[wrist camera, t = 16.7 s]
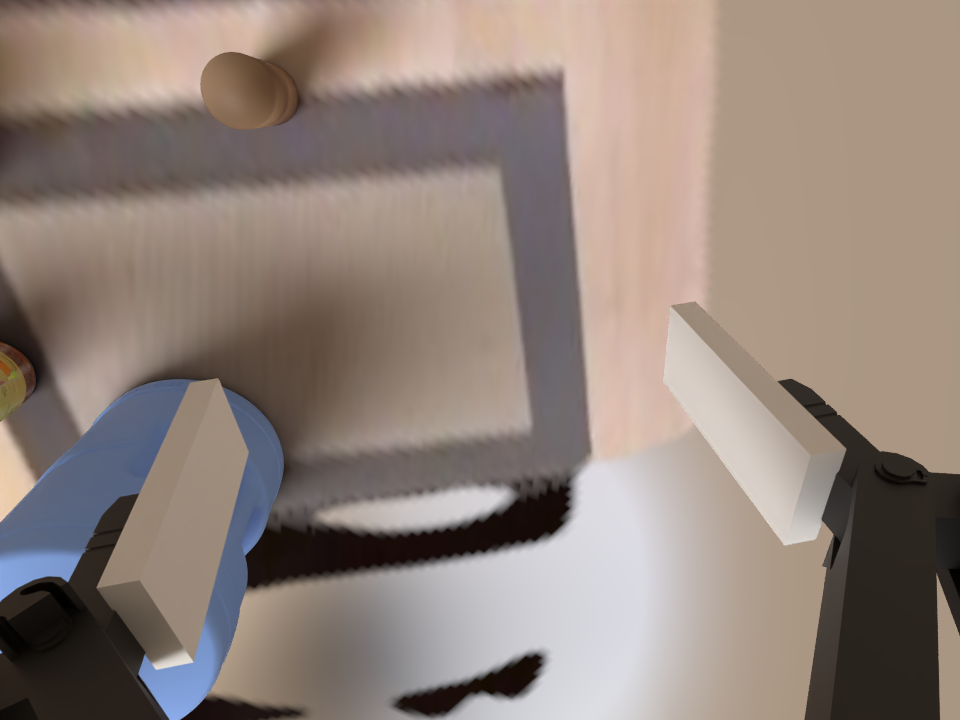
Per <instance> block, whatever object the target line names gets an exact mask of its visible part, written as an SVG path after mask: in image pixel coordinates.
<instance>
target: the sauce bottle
mask: <svg viewBox="0 0 960 720" xmlns="http://www.w3.org/2000/svg"><path fill="white" fill-rule="evenodd" d="M35 384H36V376H35V372H34V368H33V366H32V364H31V363H30V362H29V360H28V359H27V358H26V357H25V356H24V355H23V354H22V353H21V352H19V351H18V350H16V349H15V348H14V347H11V346H10V345H8V344H5V343H3V342H1V341H0V421H2V420H3V419H4V418H6V417H7V416H9V415H10V414H11V413H13V412H14V411H15V410H16V409H17V408H19V406H20V405H21V404H22V403H24V402H25V401H26V400H27V399H28V398H29V397H30V396H31V394H32V392H33V390H34V387H35Z"/></svg>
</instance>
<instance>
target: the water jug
mask: <svg viewBox="0 0 960 720" xmlns="http://www.w3.org/2000/svg"><path fill="white" fill-rule="evenodd" d="M197 381H198V380H189V379H169V380H161V381H156V382H151V383H148V384H145V385H142V386H139V387H137V388H134V389H132V390H130V391H128V392H127V393H125V394H123V395H122V396H120V397H119V398H118V399H116V400H115V401H114V402H113V403H112V404H110V405H109V406H108V407H107V409H106V410H105V411H104V412H103V413H102V414H101V415H100V416H99V417H98V418H97V419H96V421H95V422H94V423H93V425H92V427H91V428H90V429H89V430H88V431H87V432H86V433H85V434H84V435H83V437H82V438H81V439H80V440H79V441H78V442H77V443H76V444H75V445H74V446H73V447H71V448H70V449H69V450H68V451H66V452H65V453H64V454H63V455H62V456H60V457H59V458H58V459H57V460H56V461H55V462H54V463H53V464H52V466H51V467H50V468H49V469H48V470H47V471H46V472H45V473H44V474H43V475H42V477H41V478H40V479H39V480H38V482H37V483H36V485H35V486H34V488H33V489H32V490H31V491H30V492H29V493H28V494H27V495H26V496H25V497H24V498H23V499H22V500H21V501H20V502H19V503H18V505H17V506H16V507H15V508H14V509H13V510H12V511H11V512H10V513H9V514H8V515H7V516H6V517H5V518H4V519H3V520H2V521H1V522H0V602H1V600H2V599H4V598H5V597H6V596H8V595H9V594H10V593H11V592H13V591H14V590H15V589H17V588H18V587H20V586H22V585H24V584H26V583H28V582H30V581H32V580H35V579H39V578H43V577H47V576H54V577H61V578H63V579H64V580H66V581H67V582H68V581H69V579H70V577H71V575H72V573H73V571H74V569H75V567H76V566H77V564H78V562H79V560H80V558H81V556H82V554H83V553H85V548H86V546H87V544H88V542H89V540H90V538H91V537H93V532H94V530H95V528H96V526H97V524H98V522H99V520H100V518H101V516H102V515H103V514H104V513H105V512H106V510H107V509H108V508H109V507H110V506H111V505H112V504H113V503H114V502H115V501H116V500H117V499H118V498H119V497H122V496H127V495H133V494H139V493H140V491H141V489H142V487H143V485H144V483H145V480H146V478H147V476H148V474H149V472H150V469H151V467H152V465H153V463H154V461H155V458H156V456H157V454H158V452H159V450H160V447H161V445H162V443H163V441H164V439H165V437H166V434H167V432H168V430H169V428H170V426H171V423H172V421H173V419H174V417H175V415H176V412H177V410H178V408H179V406H180V404H181V401H182V399H183V397H184V395H185V393H186V390H187V388H188V386H189V384H190V383H191V382H197ZM222 388H223V391H224V393H225V396H226V398H227V400H228V403H229V405H230V408H231V410H232V412H233V415H234V417H235V420H236V422H237V425H238V427H239V429H240V432H241V434H242V437H243V439H244V442H245V444H246V446H247V449H248V451H249V453H248V457H247V461H246V465H245V469H244V472H243V476H242V480H241V484H240V488H239V491H238V495H237V499H236V503H235V507H234V511H233V514H232V518H231V522H230V526H229V530H228V533H227V537H226V541H225V545H224V549H223V552H222V556H221V560H220V564H219V568H218V572H217V575H216V579H215V583H214V587H213V591H212V594H211V598H210V602H209V606H208V610H207V613H206V617H205V621H204V625H203V629H202V633H201V636H200V640H199V644H198V648H197V652H196V655H195V659H194V662H193V663H188V664H183V665H178V666H173V667H168V668H163V669H158V670H156V669H155V668H154V666H153V665H152V664H151V662H150V661H149V660H148V658H147V657H146V655H145V656H144V659H143V662H142V665H141V668H140V671H139V676H140V677H141V678H142V680H143V681H144V682H145V684H146V685H147V687H148V688H149V690H150V691H151V693H152V694H153V696H154V697H155V699H156V700H157V702H158V703H159V705H160V706H161V708H162V709H163V711H164V712H165V713H166V715H167V716H168V718H169V719H170V720H180V719H181V718H183V717H184V716H186V715H187V714H188V713H190V712H191V711H192V710H193V709H194V708H195V707H196V706H197V705H198V704H199V703H200V702H201V701H202V700H203V699H204V698H205V697H206V695H207V694H208V693H209V691H210V690H211V688H212V687H213V685H214V683H215V681H216V679H217V677H218V675H219V673H220V670H221V667H222V664H223V662H224V661H225V658H226V656H227V653H228V651H229V649H230V646H231V643H232V640H233V637H234V633H235V630H236V627H237V623H238V618H239V612H240V606H241V603H242V600H243V597H244V594H245V590H246V585H247V564H246V559H245V555H246V554H247V553H248V552H249V551H250V550H251V549H252V548H253V547H254V545H255V544H256V543H257V541H258V540H259V538H260V537H261V535H262V533H263V531H264V529H265V526H266V523H267V520H268V517H269V514H270V511H271V507H272V505H273V503H274V501H275V499H276V497H277V494H278V491H279V488H280V484H281V481H282V477H283V470H284V458H283V451H282V447H281V444H280V441H279V438H278V436H277V434H276V432H275V430H274V428H273V426H272V425H271V423H270V422H269V421H268V419H267V418H266V417H265V416H264V415H263V414H262V412H261V411H260V410H259V409H257V408H256V407H255V406H254V405H253V404H252V403H250V402H249V401H248V400H246V399H245V398H243V397H242V396H240V395H238V394H236V393H235V392H233V391H231V390H228V389H226V388H224V387H222ZM0 653H2V652H1V651H0Z"/></svg>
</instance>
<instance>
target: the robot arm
mask: <svg viewBox="0 0 960 720" xmlns="http://www.w3.org/2000/svg"><path fill="white" fill-rule="evenodd" d="M663 382H664V383H665V384H666V386H667V387H668V389H669V390H670V391H671V393H672V394H673V395H674V397H675V398H676V399H677V401H678V402H679V403H680V405H681V406H682V407H683V409H684V410H685V412H686V413H687V414H688V416H689V417H690V418H691V420H692V421H693V422H694V424H695V425H696V426H697V428H698V429H699V430H700V432H701V433H702V434H703V436H704V437H705V439H706V440H707V441H708V443H709V444H710V445H711V447H712V448H713V449H714V451H715V452H716V454H717V455H718V456H719V457H720V459H721V460H722V462H723V463H724V464H725V466H726V467H727V468H728V470H729V471H730V472H731V474H732V475H733V476H734V478H735V479H736V481H737V482H738V483H739V485H740V486H741V487H742V489H743V490H744V491H745V493H746V494H747V495H748V497H749V498H750V499H751V501H752V502H753V504H754V505H755V506H756V508H757V509H758V510H759V512H760V513H761V514H762V516H763V517H764V518H765V520H766V521H767V522H768V524H769V525H770V526H771V528H772V529H773V531H774V532H775V533H776V534H777V536H778V537H779V539H780V540H781V541H782V543H783V544H784V545H790V544H795V543H799V542H805V541H809V540H815V539H816V538H817V535H818V532H819V529H820V526H821V523H822V521H823V522H824V523H825V524H826V526H827V527H828V528H829V529H830V530H831V531H832V533H833V534H834V535H833V538H832V540H831V544H830V546H829V549H828V552H827V554H826V558H825V560H824V563H823V565H822V566H824V567H827V569H826V577H825V583H824V590H823V597H822V604H821V610H820V618H819V624H818V631H817V638H816V645H815V651H814V658H813V665H812V672H811V679H810V686H809V693H808V700H807V707H806V713H805V720H940V703H939V662H938V623H937V622H938V621H937V579H936V573H937V575H938V578H939V581H940V583H941V586H942V589H943V591H944V594H945V597H946V600H947V602H948V605H949V607H950V610H951V613H952V616H953V619H954V621H955V624H956V627H957V629H958V632H959V634H960V474H946V473H931V472H928V471H927V470H926V469H925V468H924V466H922V465H921V464H919V463H917V462H916V461H914V460H913V459H911V458H908V457H905V456H903V455H900V454H897V453H890V452H884V451H882V452H880V451H879V450H877V449H876V448H875V447H874V446H873V445H872V444H871V443H870V442H869V441H868V440H867V439H865V438H864V437H863V436H862V435H861V434H860V433H859V432H858V431H857V430H856V429H855V428H853V427H852V426H851V425H850V424H849V423H848V422H847V421H846V420H845V419H844V418H842V417H841V416H840V415H837V412H836V411H835V410H834V409H833V408H831V406H829V405H826V404H825V401H824V400H823V399H822V398H821V397H820V396H819V395H817V394H816V393H815V392H814V391H813V390H812V389H810V388H808V387H807V386H805V385H803V384H801V383H799V382H797V381H795V380H793V379H788V380H782V381H776V380H775V379H774V378H773V377H772V376H771V375H770V374H769V373H768V372H767V371H766V370H765V369H764V368H763V367H762V366H761V365H760V364H759V363H758V362H757V361H756V360H755V359H754V358H753V357H751V355H749V353H748V352H746V351H745V350H744V349H743V348H742V347H741V346H740V345H739V344H738V343H737V342H736V341H735V340H734V339H733V338H732V337H731V336H730V335H729V334H728V333H727V332H726V331H725V330H724V329H723V328H722V327H721V326H720V325H719V324H718V323H717V322H715V320H714V319H713V318H712V317H711V316H710V315H708V314H707V313H706V312H705V311H704V310H703V309H702V308H701V307H700V306H699V305H698V304H697V303H696V302H690V303H684V304H678V305H672V306H671V307H670V317H669V327H668V337H667V347H666V357H665V367H664V377H663ZM248 453H249V451H248V449H247V446H246V444H245V442H244V439H243V437H242V434H241V432H240V429H239V427H238V425H237V422H236V420H235V417H234V415H233V412H232V410H231V408H230V405H229V403H228V400H227V398H226V396H225V393H224V391H223V388H222V386H221V383H220V381H219V379H218V378H216V379H210V380H203V381H197V382H191V383H190V384H189V386H188V388H187V390H186V393H185V395H184V397H183V399H182V401H181V404H180V406H179V408H178V410H177V412H176V415H175V417H174V419H173V421H172V423H171V426H170V428H169V430H168V432H167V434H166V437H165V439H164V441H163V443H162V445H161V447H160V450H159V452H158V454H157V456H156V458H155V461H154V463H153V465H152V467H151V469H150V472H149V474H148V476H147V478H146V480H145V483H144V485H143V487H142V489H141V491H140V493H139V494H133V495H127V496H122V497H119V498H118V499H117V500H116V501H115V502H114V503H113V504H112V505H111V506H110V507H109V508H108V509H107V510H106V512H105V513H104V514H103V515H102V516H101V518H100V520H99V522H98V524H97V526H96V528H95V530H94V532H93V537H91V538H90V540H89V542H88V544H87V546H86V548H85V553H83V554H82V556H81V558H80V560H79V562H78V564H77V566H76V567H75V569H74V571H73V573H72V575H71V577H70V579H69V581H68V582H67V581H66V580H64V579H63V578H61V577H54V576H47V577H43V578H39V579H35V580H32V581H30V582H28V583H26V584H24V585H22V586H20V587H18V588H17V589H15V590H14V591H13V592H11V593H10V594H9V595H8V596H6V597H5V598H4V599H2V600H1V602H0V651H1V652H2V653H0V720H170V719H169V718H168V716H167V715H166V713H165V712H164V711H163V709H162V708H161V706H160V705H159V703H158V702H157V700H156V699H155V697H154V696H153V694H152V693H151V691H150V690H149V688H148V687H147V685H146V684H145V682H144V681H143V680H142V678H141V677H140V676H139V671H140V668H141V665H142V662H143V659H144V656H145V655H146V657H147V658H148V660H149V661H150V662H151V664H152V665H153V666H154V668H155V669H156V670H158V669H163V668H168V667H173V666H178V665H183V664H188V663H193V662H194V659H195V655H196V652H197V648H198V644H199V640H200V636H201V633H202V629H203V625H204V621H205V617H206V613H207V610H208V606H209V602H210V598H211V594H212V591H213V587H214V583H215V579H216V575H217V572H218V568H219V564H220V560H221V556H222V552H223V549H224V545H225V541H226V537H227V533H228V530H229V526H230V522H231V518H232V514H233V511H234V507H235V503H236V499H237V495H238V491H239V488H240V484H241V480H242V476H243V472H244V469H245V465H246V461H247V457H248Z"/></svg>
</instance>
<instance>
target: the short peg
mask: <svg viewBox="0 0 960 720" xmlns="http://www.w3.org/2000/svg"><path fill="white" fill-rule="evenodd" d="M201 93H202V97H203V100H204V102H205V105H206V106H207V108H208V110H209V111H210V112H211V114H212V115H213V116H214V117H215V118H216V119H217V120H219V121H220V122H221V123H223V124H225V125H227V126H229V127H231V128H235V129H241V130H246V129H253V128H260V127H267V126H274V125H280V124H283V123H285V122H287V121H288V120H290V119H291V118H292V116H293V115H294V114H295V112H296V110H297V107H298V101H299V96H298V91H297V87H296V85H295V83H294V81H293V79H292V78H291V77H290V75H289V74H288V73H287V72H286V71H284V70H283V69H282V68H280V67H278V66H276V65H273V64H270V63H267V62H264V61H262V60H259V59H256V58H253V57H250V56H247V55H245V54H241V53H236V52H227V53H223V54H220V55H218V56H216V57H214V58H213V59H211V60H210V61H209V62H208V64H207V65H206V66H205V68H204V70H203V73H202V76H201Z"/></svg>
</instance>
